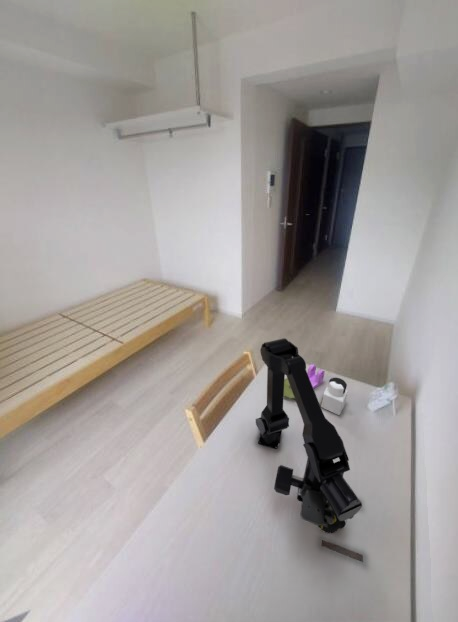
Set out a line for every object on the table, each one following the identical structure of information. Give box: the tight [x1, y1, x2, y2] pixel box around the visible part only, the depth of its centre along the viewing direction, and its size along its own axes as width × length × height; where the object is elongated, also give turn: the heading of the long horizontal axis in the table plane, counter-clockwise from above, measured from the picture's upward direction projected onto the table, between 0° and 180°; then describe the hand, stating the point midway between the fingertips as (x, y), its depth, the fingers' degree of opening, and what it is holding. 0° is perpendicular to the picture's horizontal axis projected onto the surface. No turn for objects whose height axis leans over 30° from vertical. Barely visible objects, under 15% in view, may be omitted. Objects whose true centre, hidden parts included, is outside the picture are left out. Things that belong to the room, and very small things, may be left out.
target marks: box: [321, 539, 364, 562], centre depth 69 cm, size 9×13×1 cm
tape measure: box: [316, 502, 347, 534], centre depth 69 cm, size 7×7×4 cm
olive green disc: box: [284, 377, 295, 399], centre depth 110 cm, size 11×11×2 cm
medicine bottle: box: [320, 377, 349, 416], centre depth 101 cm, size 7×7×12 cm
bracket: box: [307, 363, 325, 390], centre depth 111 cm, size 13×6×7 cm, turn 128°
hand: (308, 507), depth 71 cm, fingers closed
